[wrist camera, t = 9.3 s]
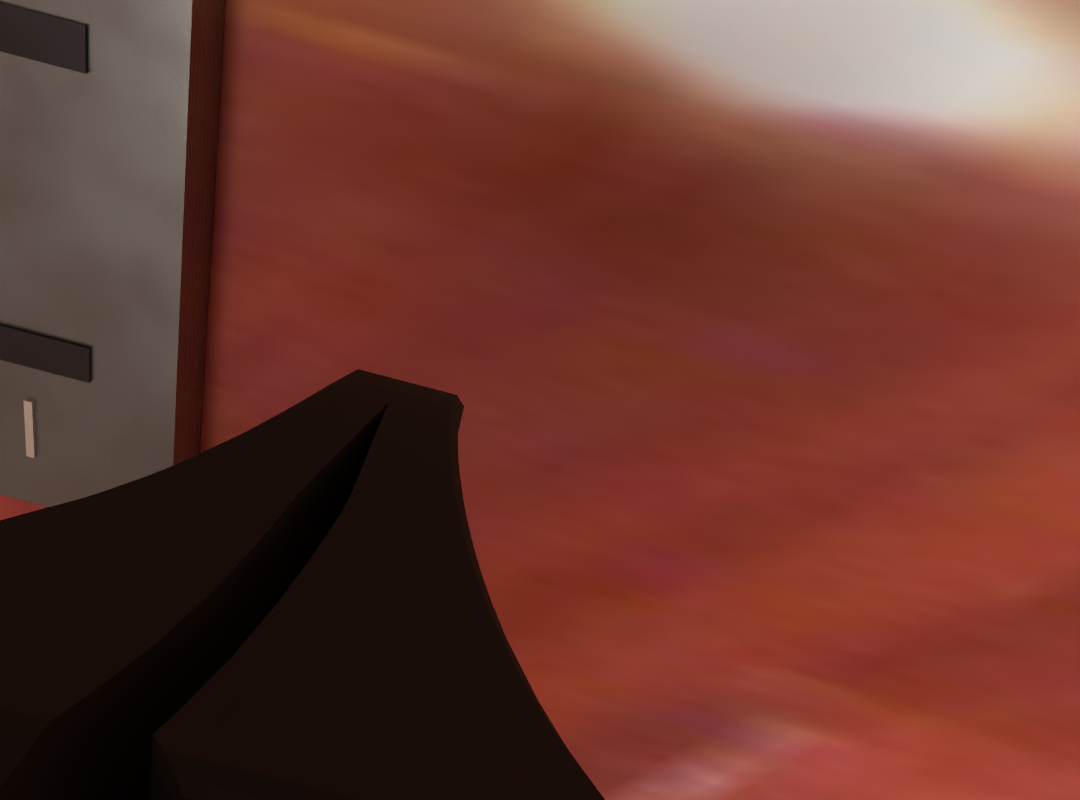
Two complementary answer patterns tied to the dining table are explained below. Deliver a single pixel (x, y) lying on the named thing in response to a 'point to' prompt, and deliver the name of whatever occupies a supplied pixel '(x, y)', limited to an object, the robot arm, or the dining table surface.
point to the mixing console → (104, 238)
